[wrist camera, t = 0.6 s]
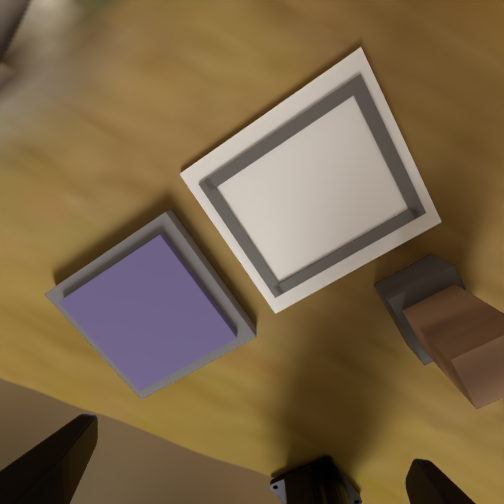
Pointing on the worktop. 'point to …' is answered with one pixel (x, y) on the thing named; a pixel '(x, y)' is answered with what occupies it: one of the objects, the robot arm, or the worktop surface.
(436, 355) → the stamp
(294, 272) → the marked card
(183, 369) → the ink pad
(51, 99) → the worktop surface
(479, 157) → the worktop surface
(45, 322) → the worktop surface
